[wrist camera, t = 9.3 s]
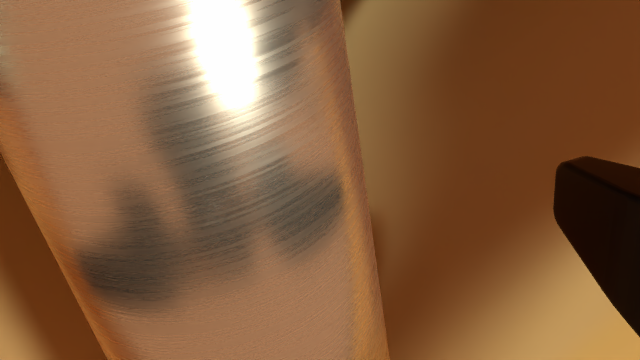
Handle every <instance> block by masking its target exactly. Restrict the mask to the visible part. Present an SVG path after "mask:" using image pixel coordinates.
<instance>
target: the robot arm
mask: <svg viewBox="0 0 640 360" xmlns="http://www.w3.org/2000/svg"><path fill="white" fill-rule="evenodd" d="M553 210H554V216H555V219H556V222H557V224H558V225H559V227H560V229H561V230H562V231H563V233H564V234H565V236H566V237H567V239H568V240H569V242H570V243H571V245H572V246H573V248H574V249H575V251H576V252H577V254H578V255H579V257H580V258H581V260H582V261H583V262H584V264H585V265H586V267H587V268H588V270H589V271H590V273H591V274H592V276H593V277H594V279H595V280H596V282H597V283H598V285H599V286H600V288H601V289H602V291H603V292H604V293H605V295H606V296H607V297H608V299H609V300H610V302H611V303H612V304H613V306H614V307H615V308H616V309H617V311H618V312H619V313H620V314H621V316H622V317H623V318H624V319H625V320H626V322H627V323H628V324H629V325H630V326H631V328H632V329H633V330H634V331H635V332H636V333H637V335H638V336H639V337H640V168H636V167H632V166H628V165H623V164H619V163H615V162H611V161H606V160H602V159H598V158H593V157H588V156H584V157H579V158H576V159H572V160H569V161H565V162H562V163H561V164H560V165H559V166H558V167H557V170H556V176H555V191H554V206H553Z"/></svg>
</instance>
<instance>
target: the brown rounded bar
mask: <svg viewBox="0 0 640 360" xmlns="http://www.w3.org/2000/svg"><path fill="white" fill-rule="evenodd" d="M0 153H1V155H2V157H3V159H4V161H5V163H6V165H7V167H8V169H9V171H10V172H11V174H12V176H13V178H14V180H15V182H16V184H17V186H18V188H19V190H20V192H21V194H22V196H23V198H24V200H25V201H26V203H27V205H28V207H29V209H30V211H31V213H32V215H33V217H34V219H35V221H36V223H37V225H38V227H39V229H40V230H41V232H42V234H43V236H44V238H45V240H46V242H47V244H48V246H49V248H50V250H51V252H52V254H53V256H54V258H55V259H56V261H57V263H58V265H59V267H60V269H61V271H62V273H63V275H64V277H65V279H66V281H67V283H68V285H69V286H70V288H71V290H72V292H73V294H74V296H75V298H76V300H77V302H78V304H79V306H80V308H81V310H82V312H83V314H84V315H85V317H86V319H87V321H88V323H89V325H90V327H91V329H92V331H93V333H94V335H95V337H96V339H97V341H98V343H99V344H100V346H101V348H102V350H103V352H104V354H105V356H106V358H107V360H390V357H389V350H388V342H387V335H386V328H385V321H384V313H383V306H382V299H381V292H380V285H379V277H378V270H377V263H376V256H375V249H374V241H373V234H372V227H371V220H370V212H369V205H368V198H367V191H366V184H365V176H364V169H363V162H362V155H361V147H360V140H359V133H358V126H357V119H356V111H355V104H354V97H353V90H352V83H351V75H350V68H349V61H348V54H347V46H346V39H345V32H344V25H343V18H342V10H341V3H340V0H0Z"/></svg>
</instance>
